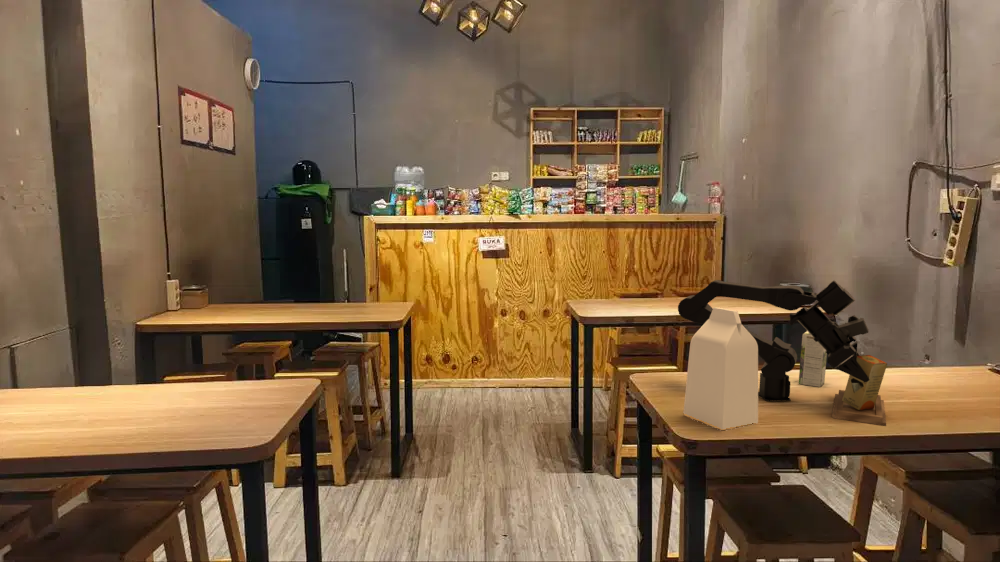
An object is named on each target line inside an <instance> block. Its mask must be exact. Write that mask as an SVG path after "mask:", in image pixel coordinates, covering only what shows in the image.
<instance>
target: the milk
mask: <svg viewBox="0 0 1000 562" xmlns="http://www.w3.org/2000/svg"><path fill="white" fill-rule="evenodd" d="M712 308H713V310H712V313H711V315H710V317H709V318H710V319H708V320H707V321H706V322H705V323H704V325H703V324H702V326H701V327H700V328H699V329H698V330H697V331H696V332H695V333H694V334H693V336H692V337H691V339H690V344H689V353H688V364H687V374H686V383H685V391H684V394H685V395H684V403H683V404H684V405H683V412H682V414H683V413H684V414H687V415H689V416H692V417H694V418H696V419H699V420H702V421H704V422H707V423H709V424H712V425H714V426H717V427H719V428H721V429H726V428H730V427H736V426H741V425H747V424H752V423H756V424H759V396H758V392H759V355H758V345H757V342H756V340H755V339H754V337H753V336H752V335H751V334H750V333H749V332H748V331H747V330H746V329H747V328H745V326H744V325H743V324H742V320H741V318H740V314H739V311H738V310H735V309H729V308H724V307H723V308H722V307H719V306H718V307H716V306H715V307H712ZM752 425H753V424H752Z"/></svg>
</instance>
